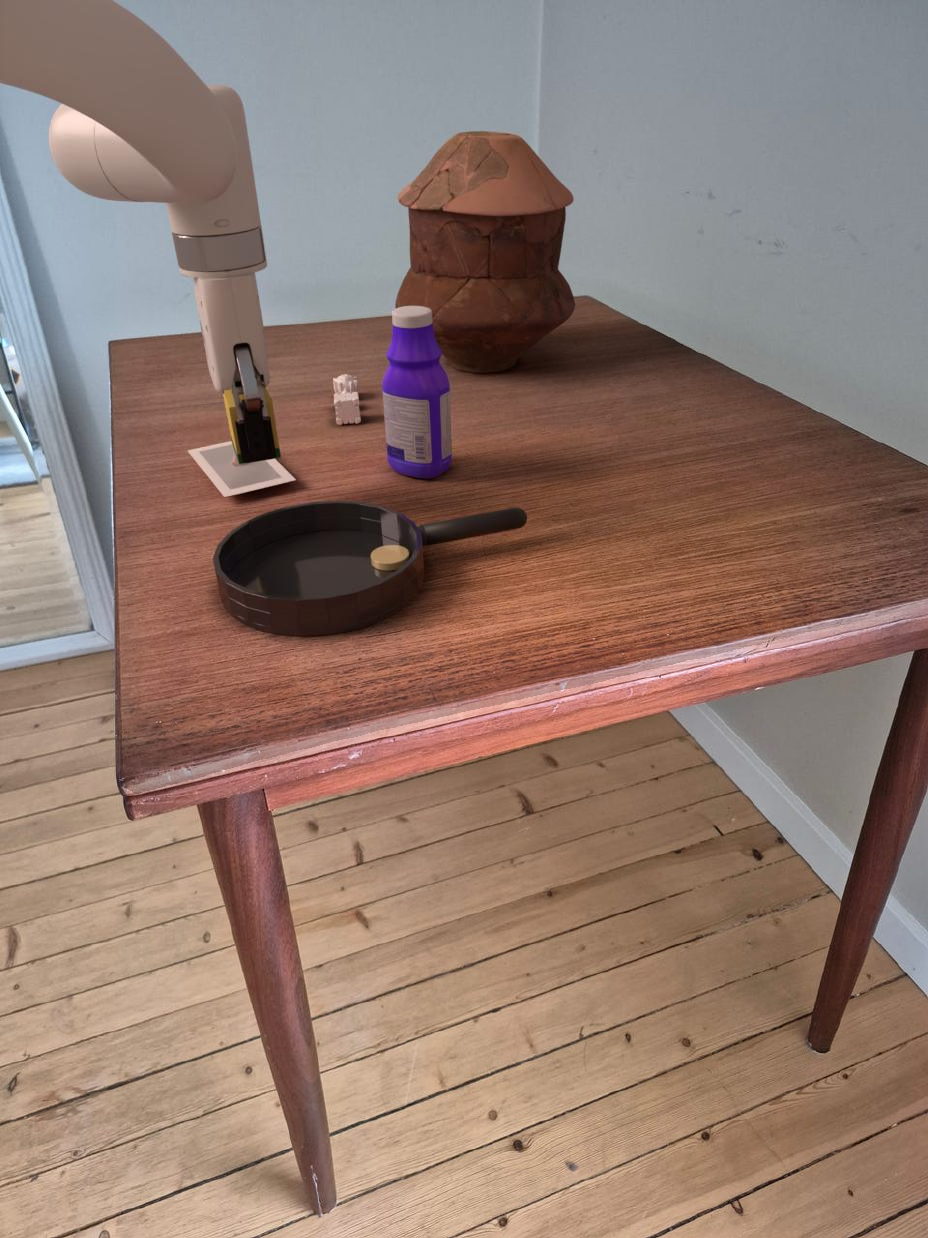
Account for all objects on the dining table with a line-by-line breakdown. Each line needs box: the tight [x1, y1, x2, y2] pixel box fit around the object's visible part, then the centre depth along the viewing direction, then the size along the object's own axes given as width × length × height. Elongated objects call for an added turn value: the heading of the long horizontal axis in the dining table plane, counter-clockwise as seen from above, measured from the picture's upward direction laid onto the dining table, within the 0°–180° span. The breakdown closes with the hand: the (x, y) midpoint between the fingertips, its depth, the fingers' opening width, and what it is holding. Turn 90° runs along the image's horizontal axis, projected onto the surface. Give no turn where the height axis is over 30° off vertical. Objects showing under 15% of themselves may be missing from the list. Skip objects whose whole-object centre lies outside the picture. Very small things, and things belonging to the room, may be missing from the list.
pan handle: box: [416, 506, 528, 547], centre depth 82 cm, size 11×2×2 cm, turn 109°
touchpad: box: [186, 440, 297, 498], centre depth 100 cm, size 8×15×2 cm, turn 29°
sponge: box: [222, 385, 282, 464], centre depth 86 cm, size 4×6×6 cm
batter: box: [371, 545, 410, 571], centre depth 81 cm, size 4×4×1 cm
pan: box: [212, 500, 425, 637], centre depth 79 cm, size 18×18×4 cm
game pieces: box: [332, 373, 362, 426], centre depth 117 cm, size 12×3×3 cm, turn 8°
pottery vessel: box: [394, 130, 576, 374], centre depth 124 cm, size 26×26×30 cm
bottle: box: [381, 306, 453, 480], centre depth 95 cm, size 7×6×17 cm
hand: (254, 446), depth 87 cm, fingers closed on sponge, 5 cm apart
